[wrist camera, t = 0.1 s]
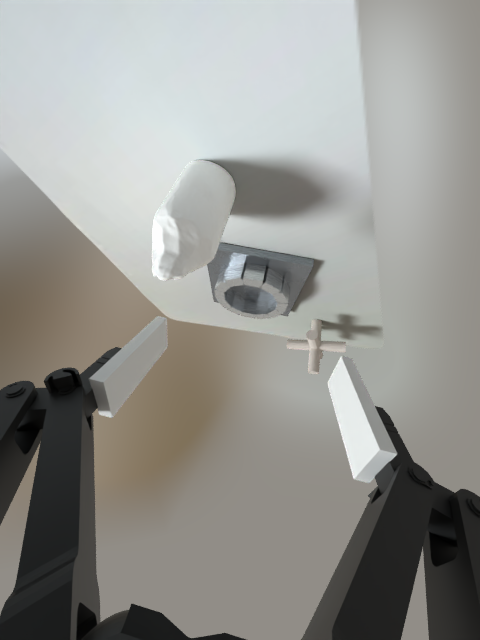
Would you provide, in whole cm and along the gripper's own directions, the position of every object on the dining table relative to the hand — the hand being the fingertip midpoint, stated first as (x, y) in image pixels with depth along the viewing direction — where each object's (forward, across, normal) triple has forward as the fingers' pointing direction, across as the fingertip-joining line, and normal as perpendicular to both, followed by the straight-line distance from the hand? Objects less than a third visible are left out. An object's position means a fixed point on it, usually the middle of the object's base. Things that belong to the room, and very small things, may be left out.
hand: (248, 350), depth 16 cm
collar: (+19, -1, -1) cm, 19 cm away
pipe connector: (+25, +12, -8) cm, 29 cm away
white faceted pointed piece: (+12, -7, +10) cm, 17 cm away
